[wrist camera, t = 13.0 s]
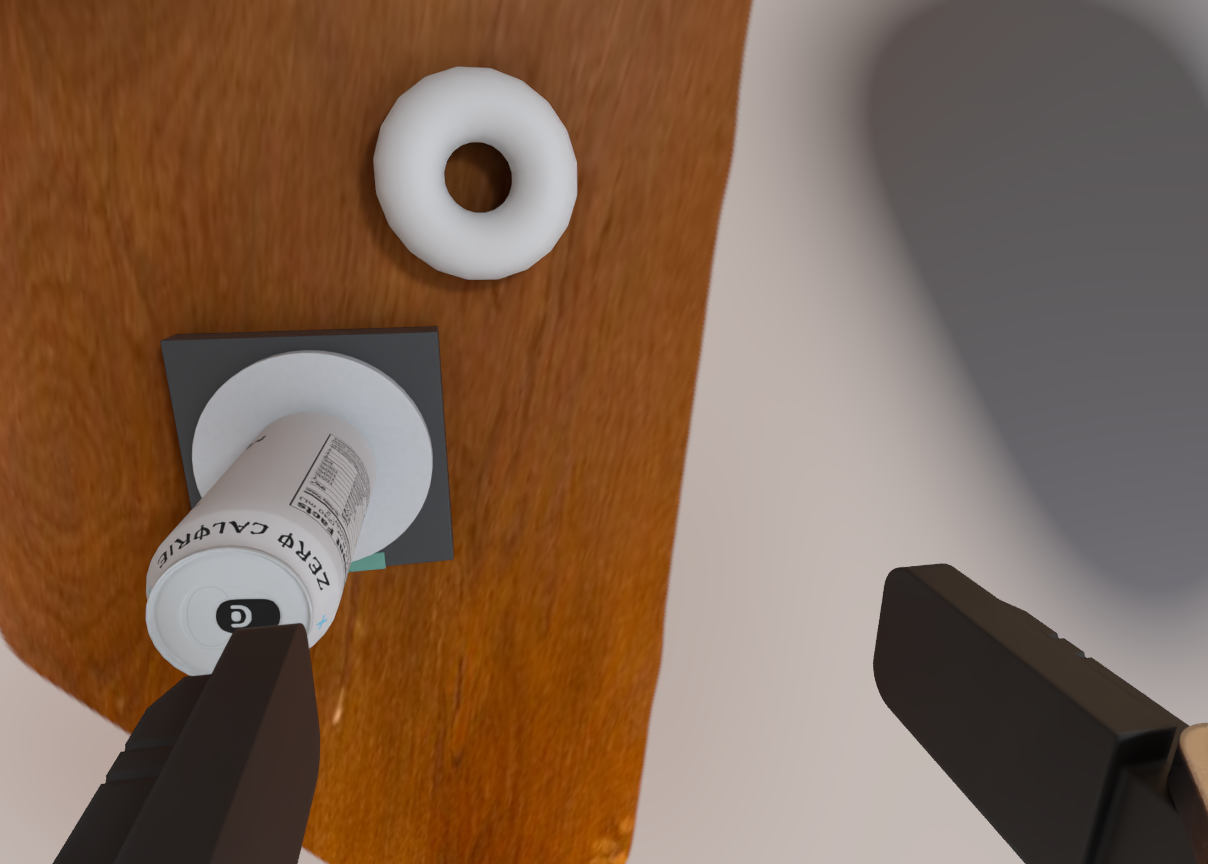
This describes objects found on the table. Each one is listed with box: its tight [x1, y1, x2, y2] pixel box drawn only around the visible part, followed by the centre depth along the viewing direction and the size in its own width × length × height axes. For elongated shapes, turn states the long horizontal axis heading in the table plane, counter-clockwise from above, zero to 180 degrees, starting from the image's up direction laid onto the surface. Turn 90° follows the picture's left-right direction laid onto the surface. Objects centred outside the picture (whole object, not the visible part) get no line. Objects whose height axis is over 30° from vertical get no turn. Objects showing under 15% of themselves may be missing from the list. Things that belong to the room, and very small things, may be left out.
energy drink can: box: [146, 411, 376, 676], centre depth 29 cm, size 6×6×15 cm
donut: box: [373, 67, 577, 280], centre depth 35 cm, size 10×4×10 cm
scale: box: [160, 326, 453, 572], centre depth 38 cm, size 13×13×3 cm
